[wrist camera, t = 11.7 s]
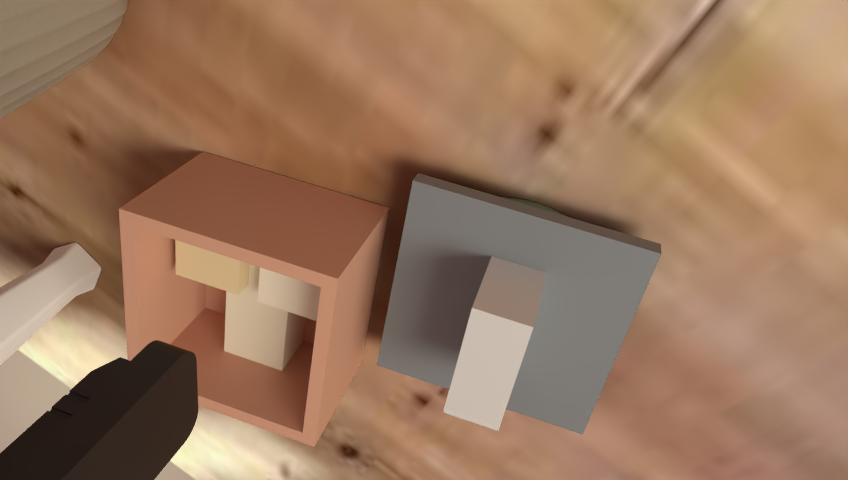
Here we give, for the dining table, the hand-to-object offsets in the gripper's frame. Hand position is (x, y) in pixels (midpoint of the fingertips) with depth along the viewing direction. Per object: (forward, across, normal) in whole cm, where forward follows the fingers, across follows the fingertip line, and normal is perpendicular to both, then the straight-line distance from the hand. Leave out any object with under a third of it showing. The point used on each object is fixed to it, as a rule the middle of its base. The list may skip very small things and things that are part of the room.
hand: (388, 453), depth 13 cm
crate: (+25, +14, +16) cm, 33 cm away
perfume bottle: (+25, +30, +21) cm, 45 cm away
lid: (+24, 0, +13) cm, 27 cm away
